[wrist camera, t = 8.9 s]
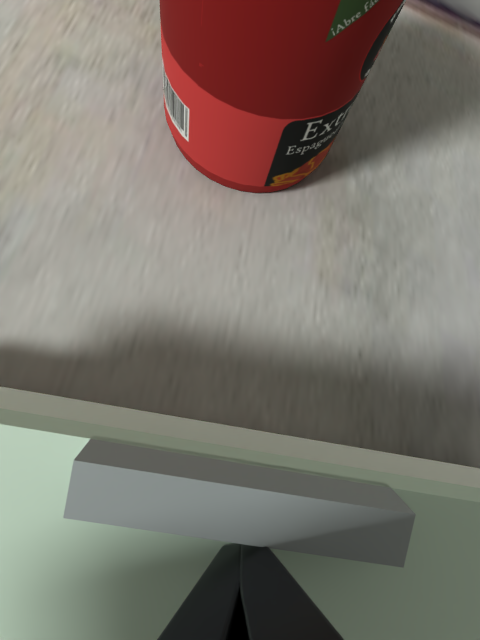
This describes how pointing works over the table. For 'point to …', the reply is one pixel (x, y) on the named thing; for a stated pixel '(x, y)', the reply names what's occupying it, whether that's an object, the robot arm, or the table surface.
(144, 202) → the table surface
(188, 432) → the cable duct
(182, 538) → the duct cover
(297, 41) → the canned food
